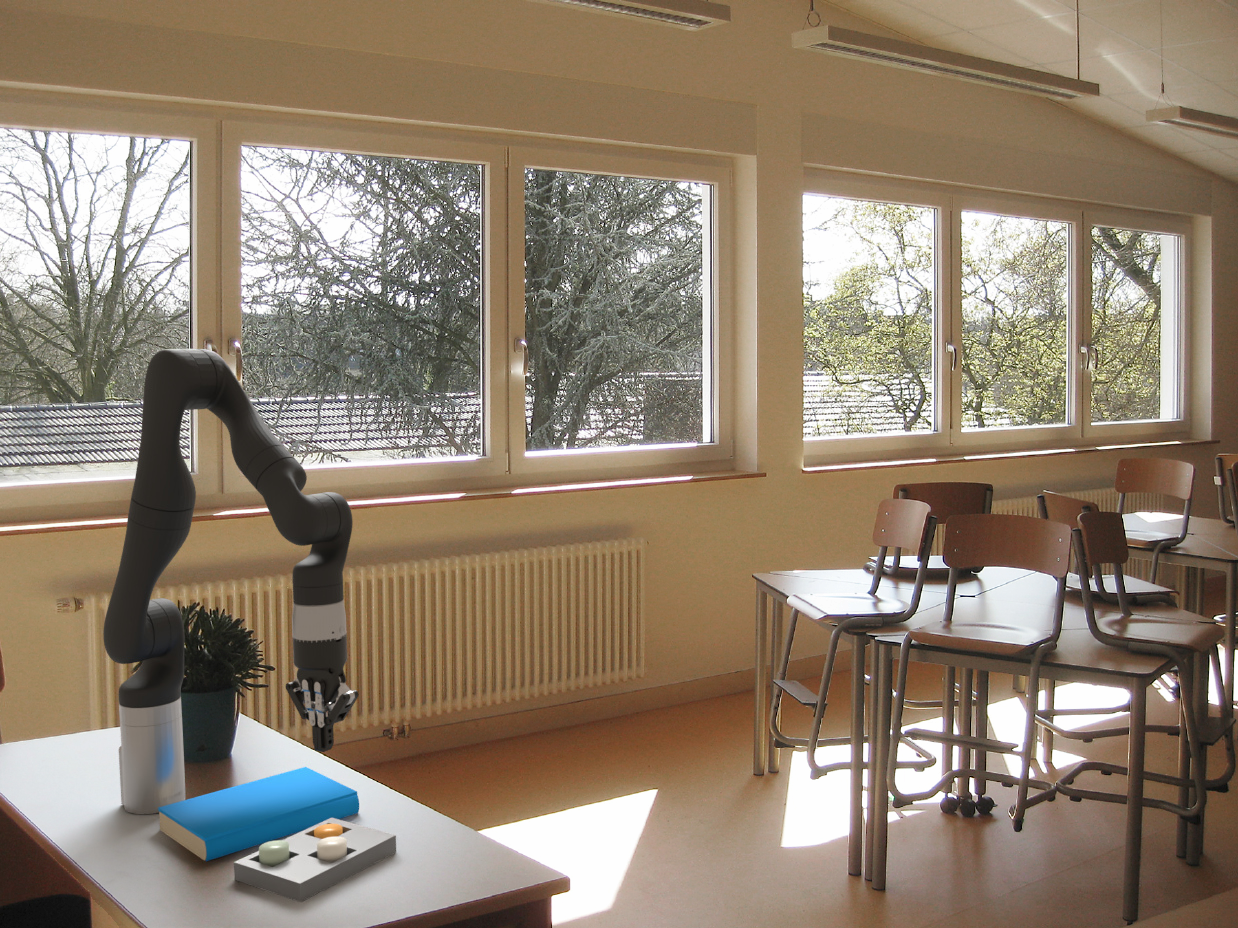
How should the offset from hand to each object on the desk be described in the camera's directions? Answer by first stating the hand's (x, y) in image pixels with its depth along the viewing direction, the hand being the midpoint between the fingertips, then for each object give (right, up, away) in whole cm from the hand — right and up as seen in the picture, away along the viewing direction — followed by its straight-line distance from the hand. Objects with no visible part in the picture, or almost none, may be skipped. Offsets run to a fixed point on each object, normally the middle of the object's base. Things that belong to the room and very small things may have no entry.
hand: (323, 749), depth 164 cm
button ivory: (+3, -14, -6) cm, 15 cm away
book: (-13, -15, +12) cm, 23 cm away
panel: (0, -15, -4) cm, 16 cm away
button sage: (-5, -14, -7) cm, 16 cm away
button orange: (0, -14, +1) cm, 14 cm away
